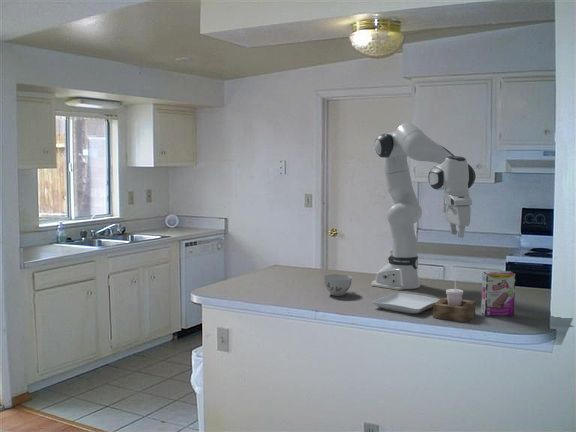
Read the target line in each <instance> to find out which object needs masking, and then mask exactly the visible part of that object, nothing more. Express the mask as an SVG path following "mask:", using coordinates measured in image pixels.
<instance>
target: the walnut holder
mask: <svg viewBox="0 0 576 432" xmlns="http://www.w3.org/2000/svg"><path fill="white" fill-rule="evenodd" d="M439 299H440V300H439V301H437V302H436V303H434V304H433V307H432V318H434V319H442V320H448V321H457V322H465V323H467V322H468V321H470V319H472V318H473V317H474V316H475V315H476V300H469V299H462V301H461V306H456V305H448V300H447V297H441V298H439Z"/></svg>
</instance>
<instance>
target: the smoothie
mask: <svg viewBox="0 0 576 432" xmlns="http://www.w3.org/2000/svg"><path fill="white" fill-rule="evenodd" d="M445 294H446V298H447V300H448V305H456V306H461V301H462V300H463V295H464V290H462V289H458V288H457V279H454V288H448V289H446V290H445Z"/></svg>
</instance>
